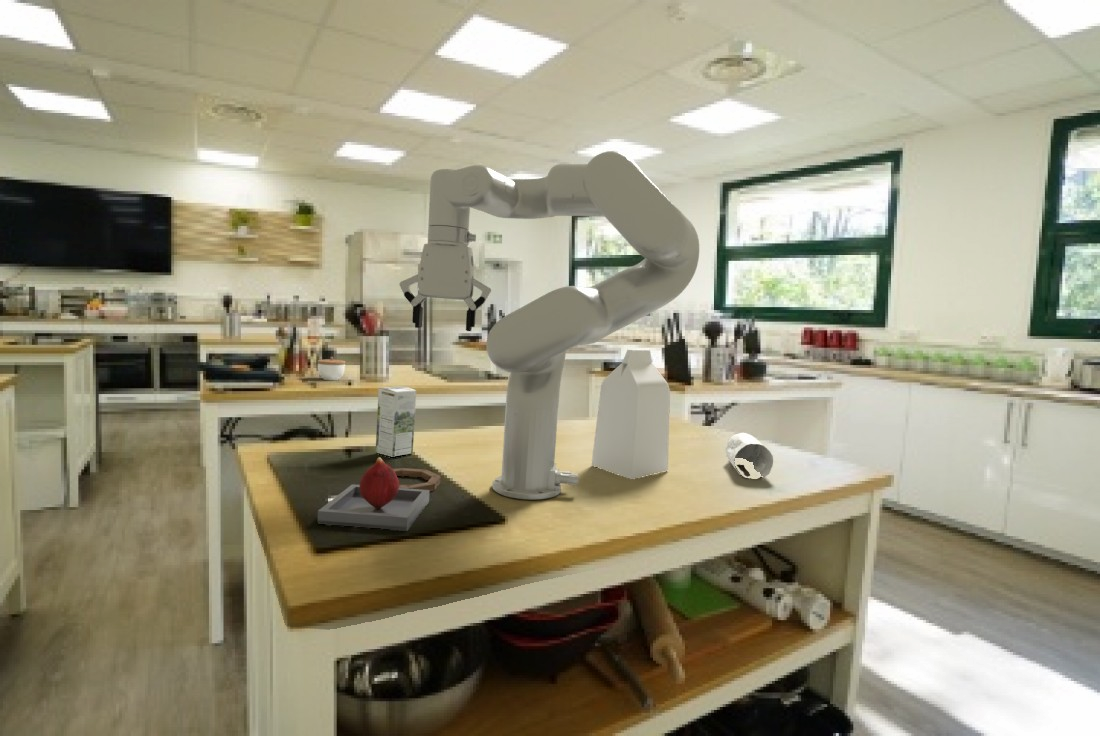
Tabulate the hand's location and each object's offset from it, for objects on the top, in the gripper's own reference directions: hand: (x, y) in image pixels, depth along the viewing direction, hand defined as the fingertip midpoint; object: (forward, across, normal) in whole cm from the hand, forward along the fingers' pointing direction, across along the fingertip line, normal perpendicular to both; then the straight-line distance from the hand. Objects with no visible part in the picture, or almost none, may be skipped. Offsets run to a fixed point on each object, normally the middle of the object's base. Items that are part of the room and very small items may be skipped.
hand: (443, 329), depth 109 cm
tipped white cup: (+28, -66, -17) cm, 74 cm away
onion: (+28, +4, +24) cm, 37 cm away
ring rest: (+28, +4, +9) cm, 30 cm away
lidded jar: (+29, +67, -124) cm, 144 cm away
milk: (+28, -40, -12) cm, 50 cm away
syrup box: (+28, +11, -12) cm, 33 cm away
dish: (+28, +5, +24) cm, 37 cm away
